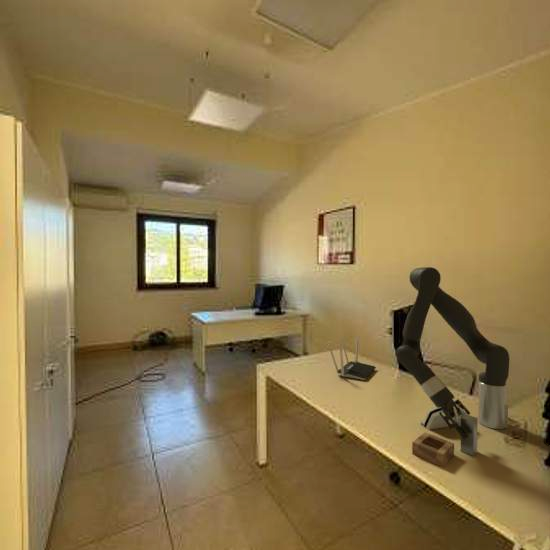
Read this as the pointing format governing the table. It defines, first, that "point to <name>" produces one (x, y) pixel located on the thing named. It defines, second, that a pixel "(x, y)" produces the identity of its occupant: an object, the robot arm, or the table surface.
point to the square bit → (471, 428)
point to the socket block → (433, 449)
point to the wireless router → (352, 365)
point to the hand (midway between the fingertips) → (471, 433)
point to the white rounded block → (435, 419)
